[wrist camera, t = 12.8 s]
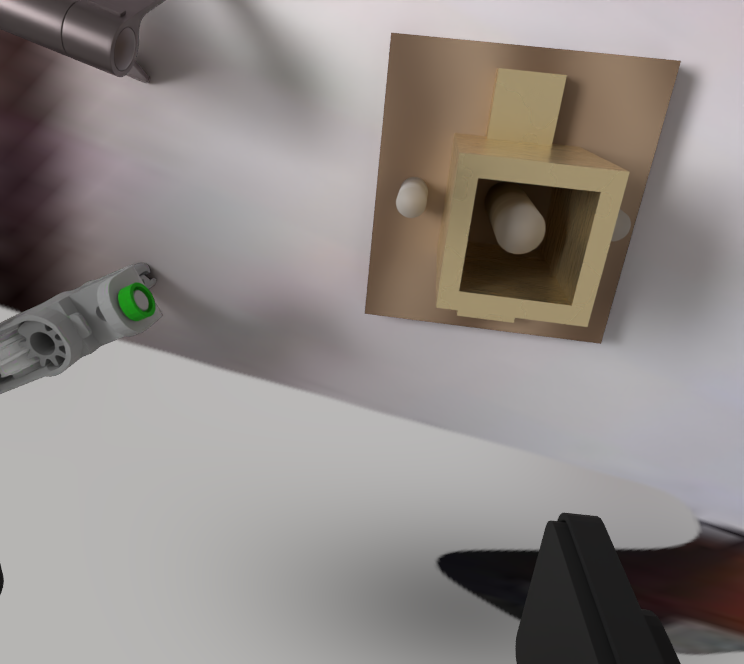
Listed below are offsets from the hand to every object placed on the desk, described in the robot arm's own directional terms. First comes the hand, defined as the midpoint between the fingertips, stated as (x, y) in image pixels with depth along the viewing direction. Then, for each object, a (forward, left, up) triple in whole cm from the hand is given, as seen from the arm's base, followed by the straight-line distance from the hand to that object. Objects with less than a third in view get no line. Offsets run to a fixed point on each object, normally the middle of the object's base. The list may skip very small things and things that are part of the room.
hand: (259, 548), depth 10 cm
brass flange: (+6, +2, -23) cm, 24 cm away
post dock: (+6, +2, -24) cm, 25 cm away
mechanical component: (-14, -5, -24) cm, 29 cm away
